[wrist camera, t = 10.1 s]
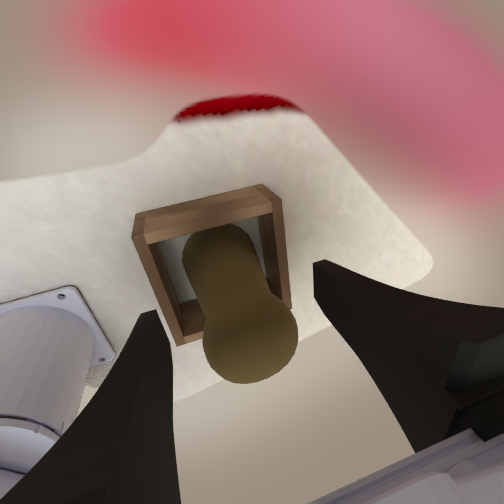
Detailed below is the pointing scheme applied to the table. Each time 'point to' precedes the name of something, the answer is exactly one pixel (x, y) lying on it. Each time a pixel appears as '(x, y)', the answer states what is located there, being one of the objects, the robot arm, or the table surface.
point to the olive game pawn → (238, 306)
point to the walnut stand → (201, 218)
